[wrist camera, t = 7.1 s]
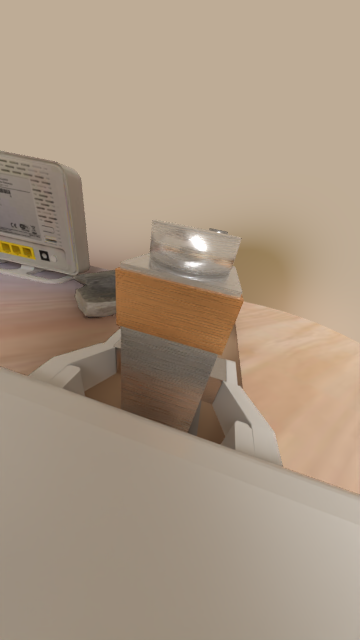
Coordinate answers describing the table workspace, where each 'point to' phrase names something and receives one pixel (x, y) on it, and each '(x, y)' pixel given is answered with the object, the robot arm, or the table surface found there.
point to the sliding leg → (175, 319)
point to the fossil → (97, 294)
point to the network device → (41, 218)
